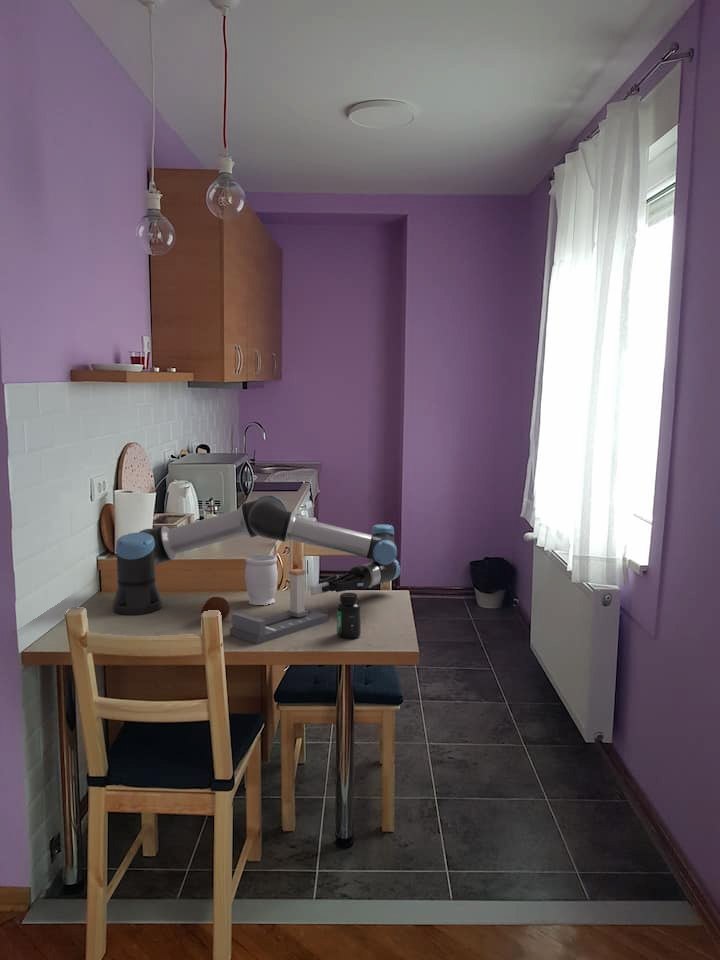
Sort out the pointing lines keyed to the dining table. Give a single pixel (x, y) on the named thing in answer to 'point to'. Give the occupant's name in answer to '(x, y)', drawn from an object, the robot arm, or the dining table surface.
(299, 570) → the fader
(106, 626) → the dining table surface
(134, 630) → the dining table surface
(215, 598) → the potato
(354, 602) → the supplement bottle
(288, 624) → the console
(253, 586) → the jar
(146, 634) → the dining table surface
